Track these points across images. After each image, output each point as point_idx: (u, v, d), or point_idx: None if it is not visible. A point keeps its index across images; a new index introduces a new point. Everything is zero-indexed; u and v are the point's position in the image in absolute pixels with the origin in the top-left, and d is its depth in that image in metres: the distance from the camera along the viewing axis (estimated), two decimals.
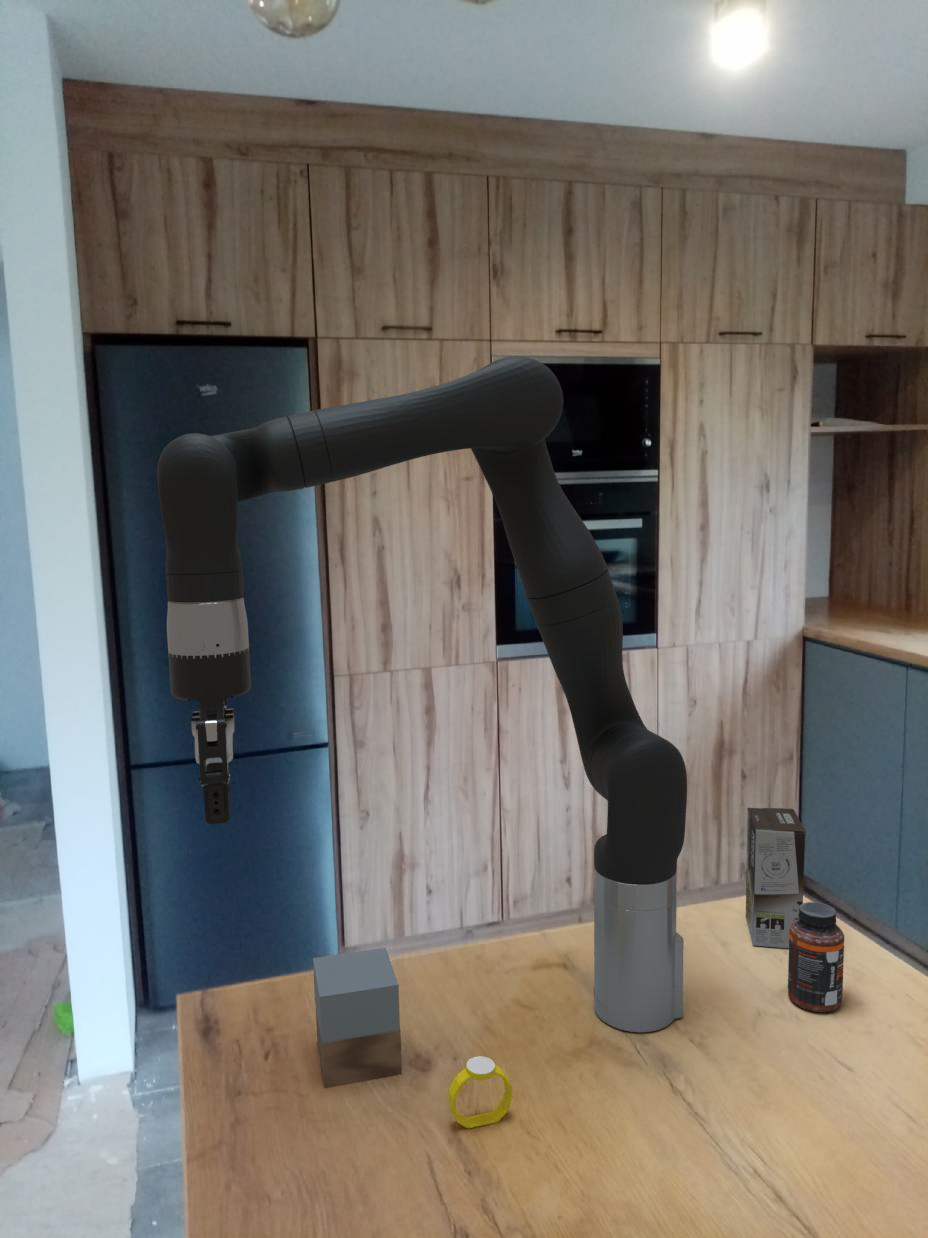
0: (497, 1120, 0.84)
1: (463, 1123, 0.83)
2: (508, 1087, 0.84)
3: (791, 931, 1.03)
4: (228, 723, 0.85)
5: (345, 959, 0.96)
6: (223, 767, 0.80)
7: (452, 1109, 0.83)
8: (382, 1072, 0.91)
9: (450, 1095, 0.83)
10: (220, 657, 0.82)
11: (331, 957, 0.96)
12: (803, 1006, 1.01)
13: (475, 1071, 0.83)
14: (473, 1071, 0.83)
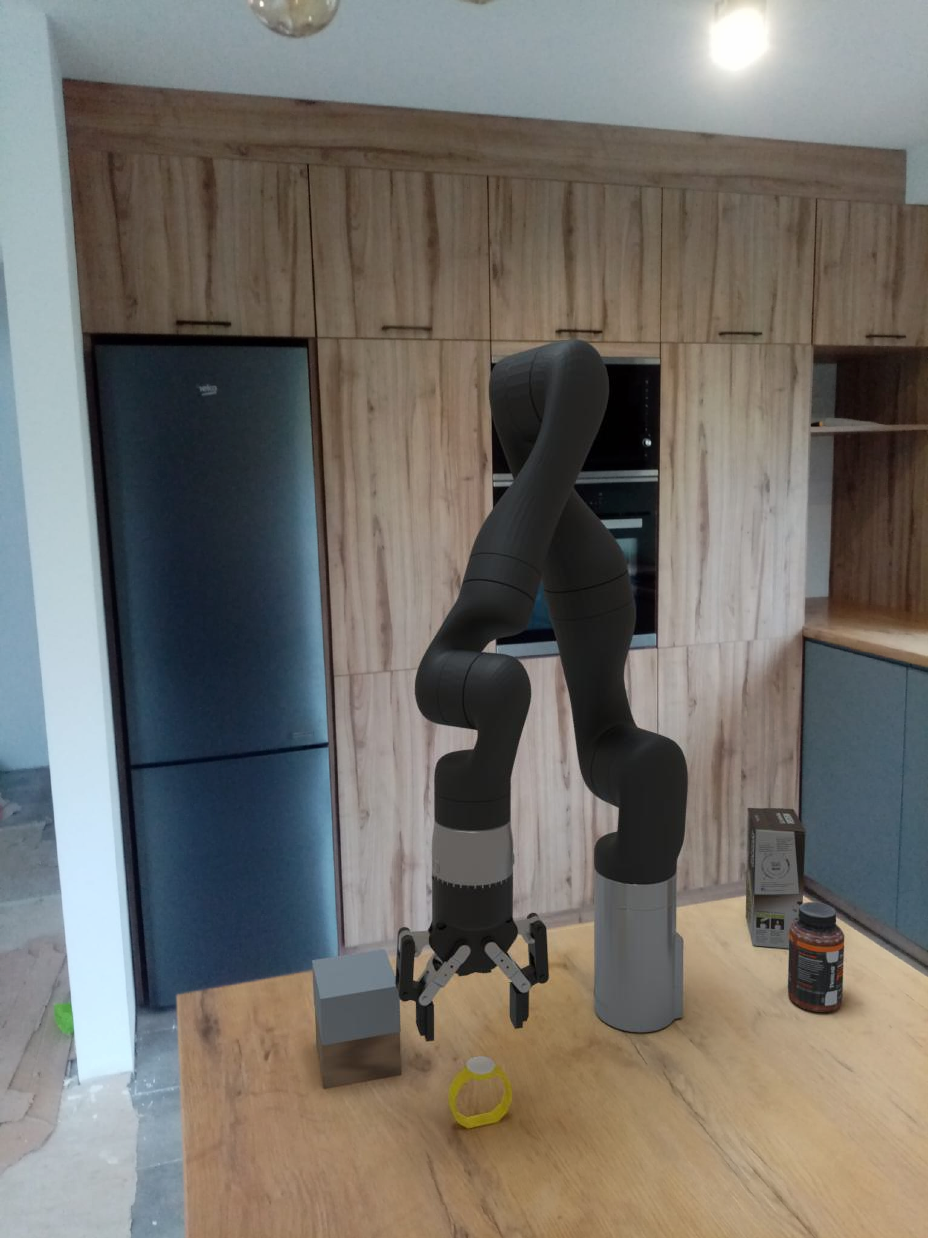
0: (497, 1120, 0.84)
1: (463, 1123, 0.83)
2: (508, 1087, 0.84)
3: (791, 931, 1.03)
4: None
5: (344, 961, 0.96)
6: None
7: (452, 1109, 0.83)
8: (381, 1073, 0.91)
9: (450, 1095, 0.83)
10: None
11: (330, 959, 0.96)
12: (803, 1006, 1.01)
13: (475, 1071, 0.83)
14: (473, 1071, 0.83)
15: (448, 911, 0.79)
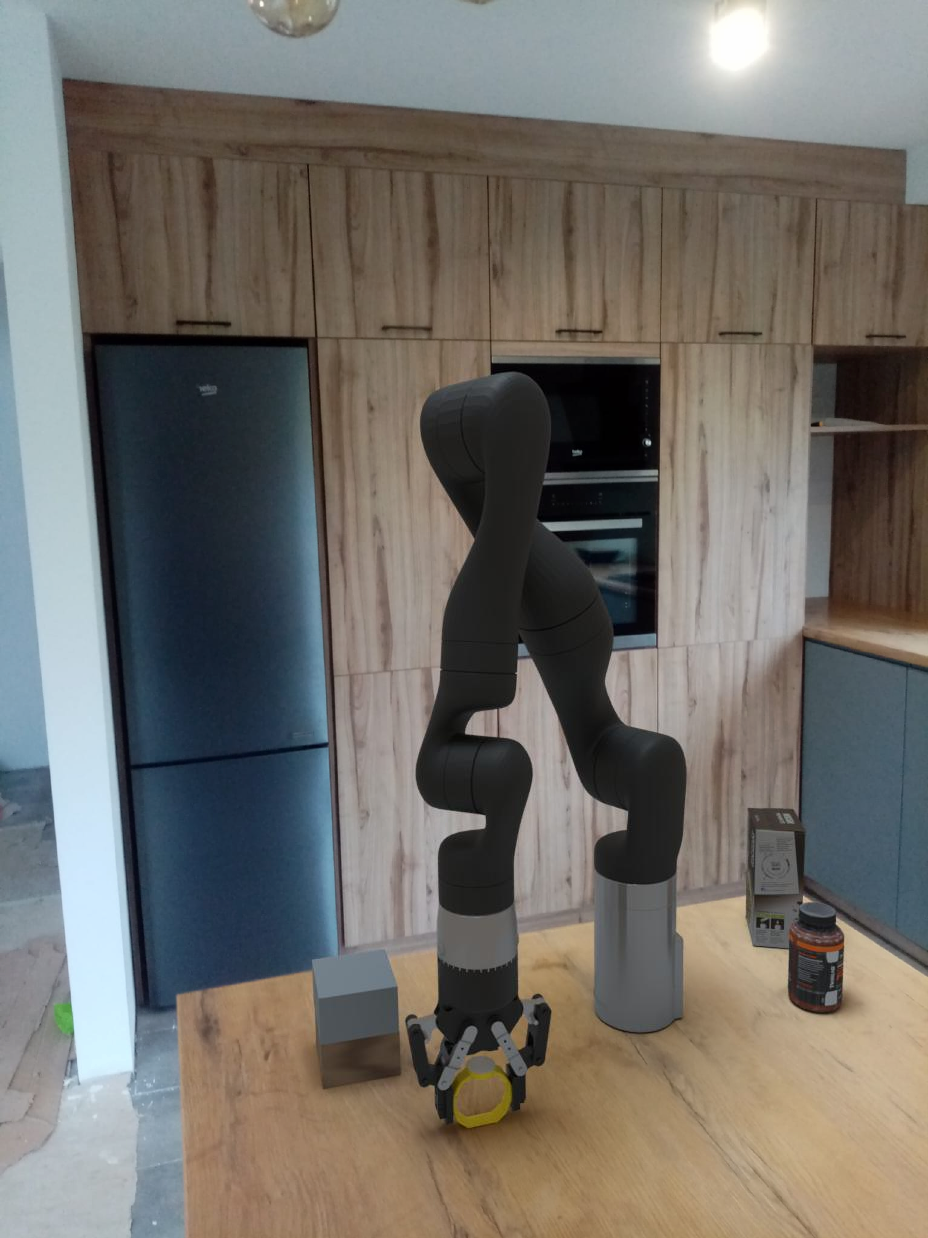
0: (497, 1120, 0.84)
1: (463, 1123, 0.83)
2: (508, 1087, 0.84)
3: (791, 931, 1.03)
4: None
5: (344, 960, 0.96)
6: None
7: None
8: (380, 1073, 0.91)
9: None
10: None
11: (330, 958, 0.96)
12: (803, 1006, 1.01)
13: (475, 1071, 0.83)
14: (473, 1070, 0.83)
15: (454, 994, 0.80)
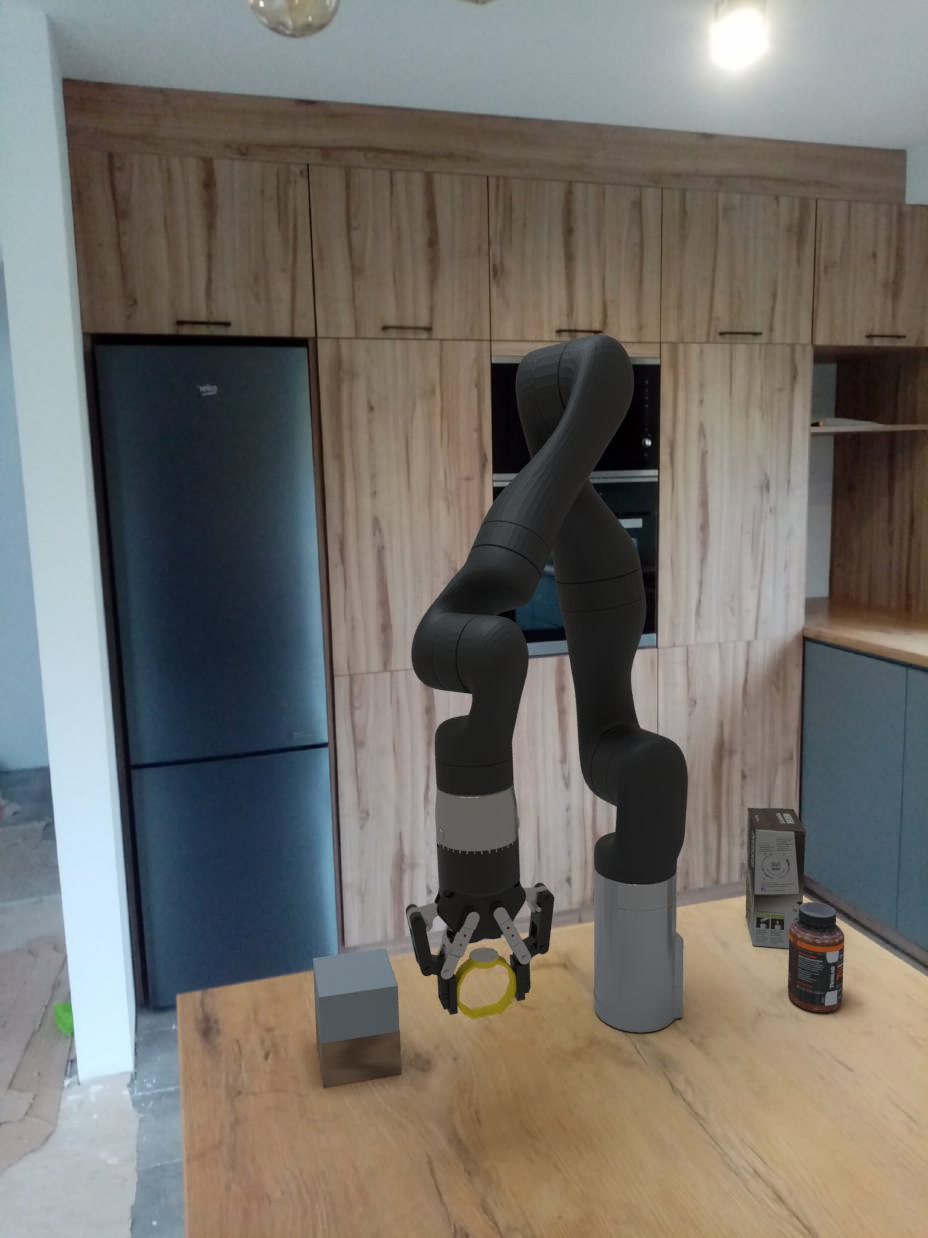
0: (502, 1010, 0.83)
1: (468, 1013, 0.82)
2: (512, 976, 0.83)
3: (791, 931, 1.03)
4: None
5: (345, 959, 0.96)
6: None
7: None
8: (381, 1072, 0.91)
9: None
10: None
11: (331, 957, 0.96)
12: (803, 1006, 1.01)
13: (479, 960, 0.81)
14: (476, 960, 0.81)
15: (455, 878, 0.78)
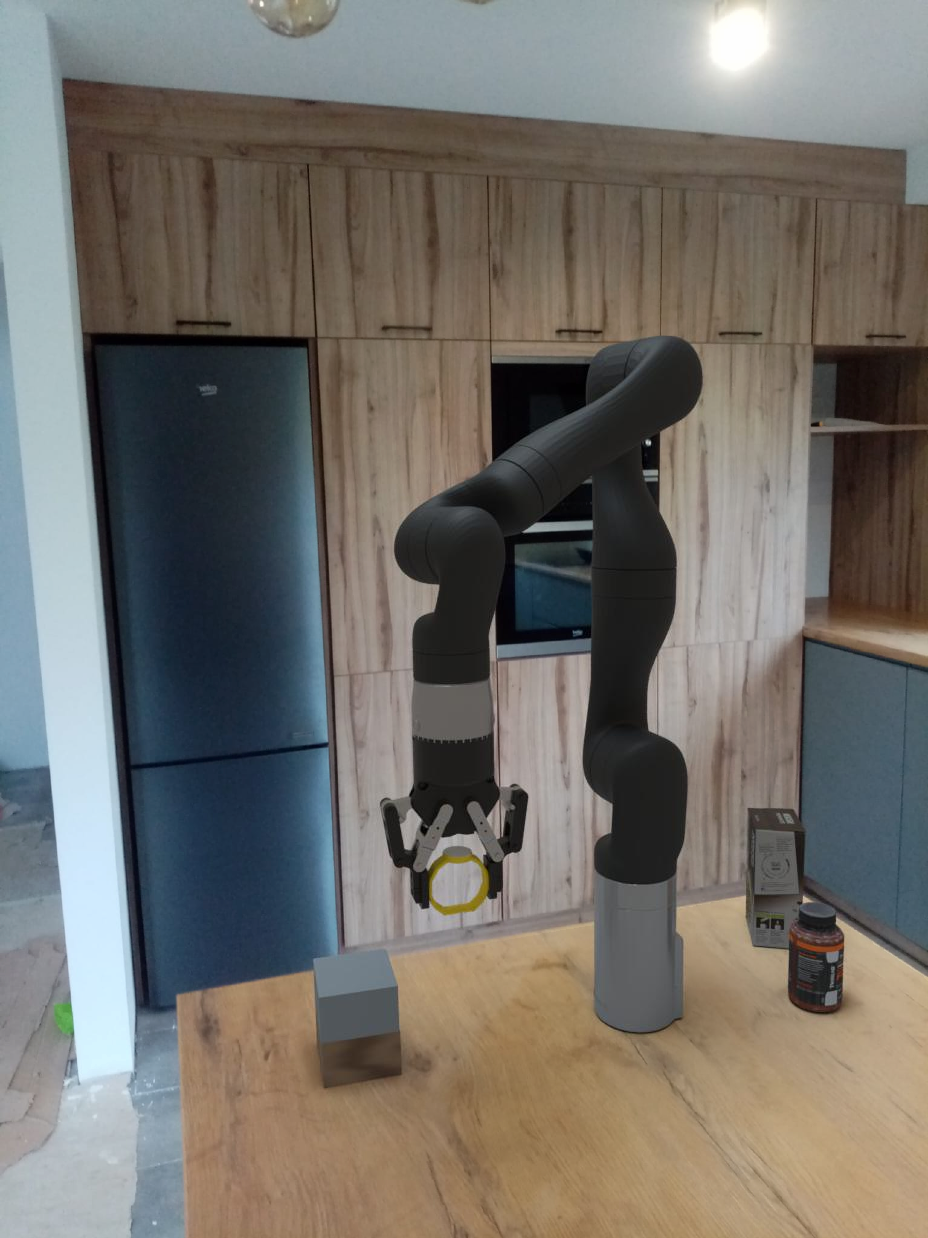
0: (474, 908, 0.83)
1: (440, 909, 0.82)
2: (485, 874, 0.83)
3: (791, 931, 1.03)
4: None
5: (345, 960, 0.96)
6: None
7: None
8: (381, 1073, 0.91)
9: None
10: None
11: (331, 958, 0.96)
12: (803, 1006, 1.01)
13: (452, 855, 0.82)
14: (449, 855, 0.82)
15: (429, 768, 0.78)
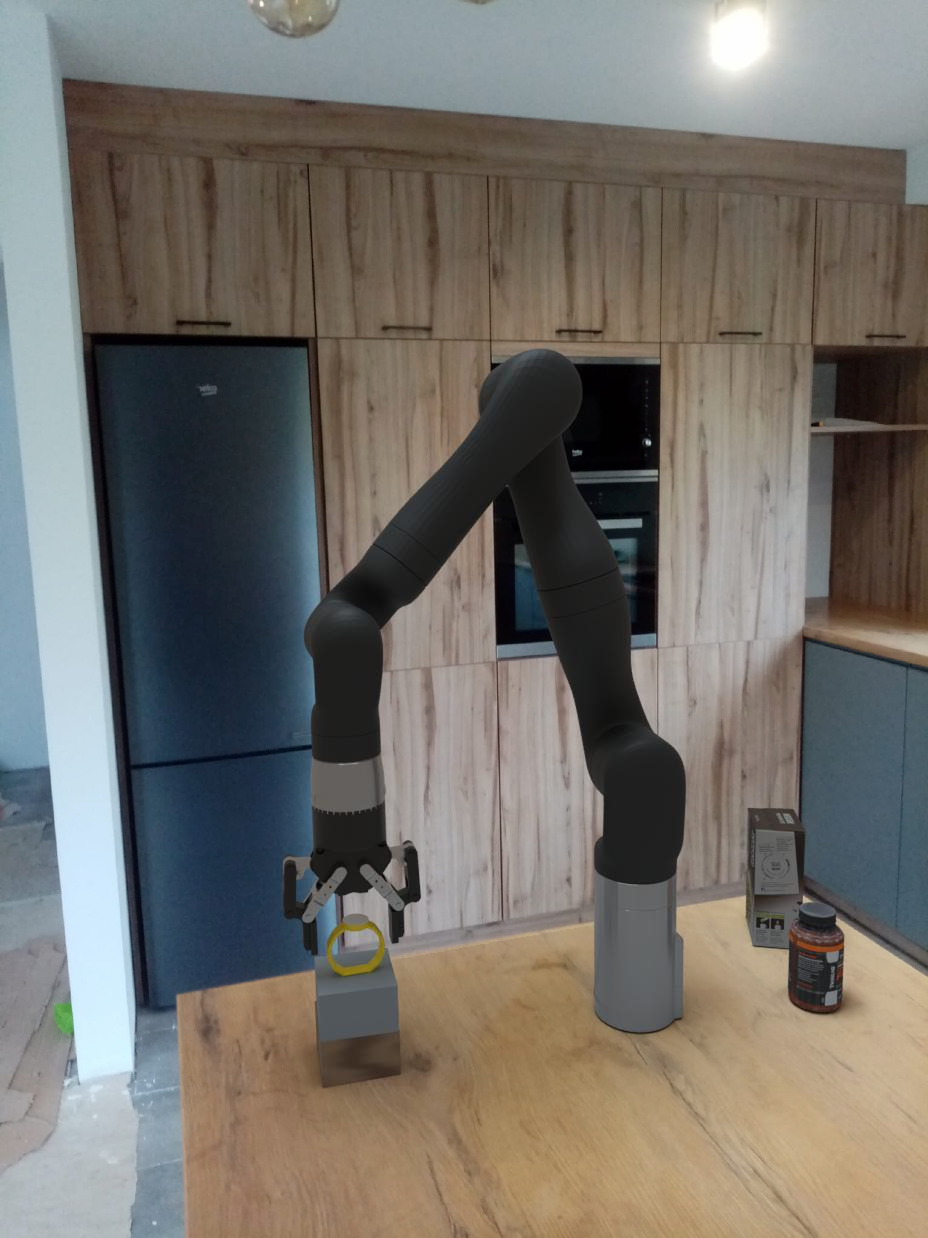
0: (371, 970, 0.93)
1: (339, 971, 0.92)
2: (381, 940, 0.93)
3: (791, 931, 1.03)
4: None
5: (346, 959, 0.96)
6: None
7: (328, 958, 0.92)
8: (380, 1072, 0.91)
9: (327, 946, 0.92)
10: None
11: (332, 956, 0.96)
12: (803, 1006, 1.01)
13: (349, 923, 0.91)
14: (347, 923, 0.92)
15: (324, 836, 0.88)
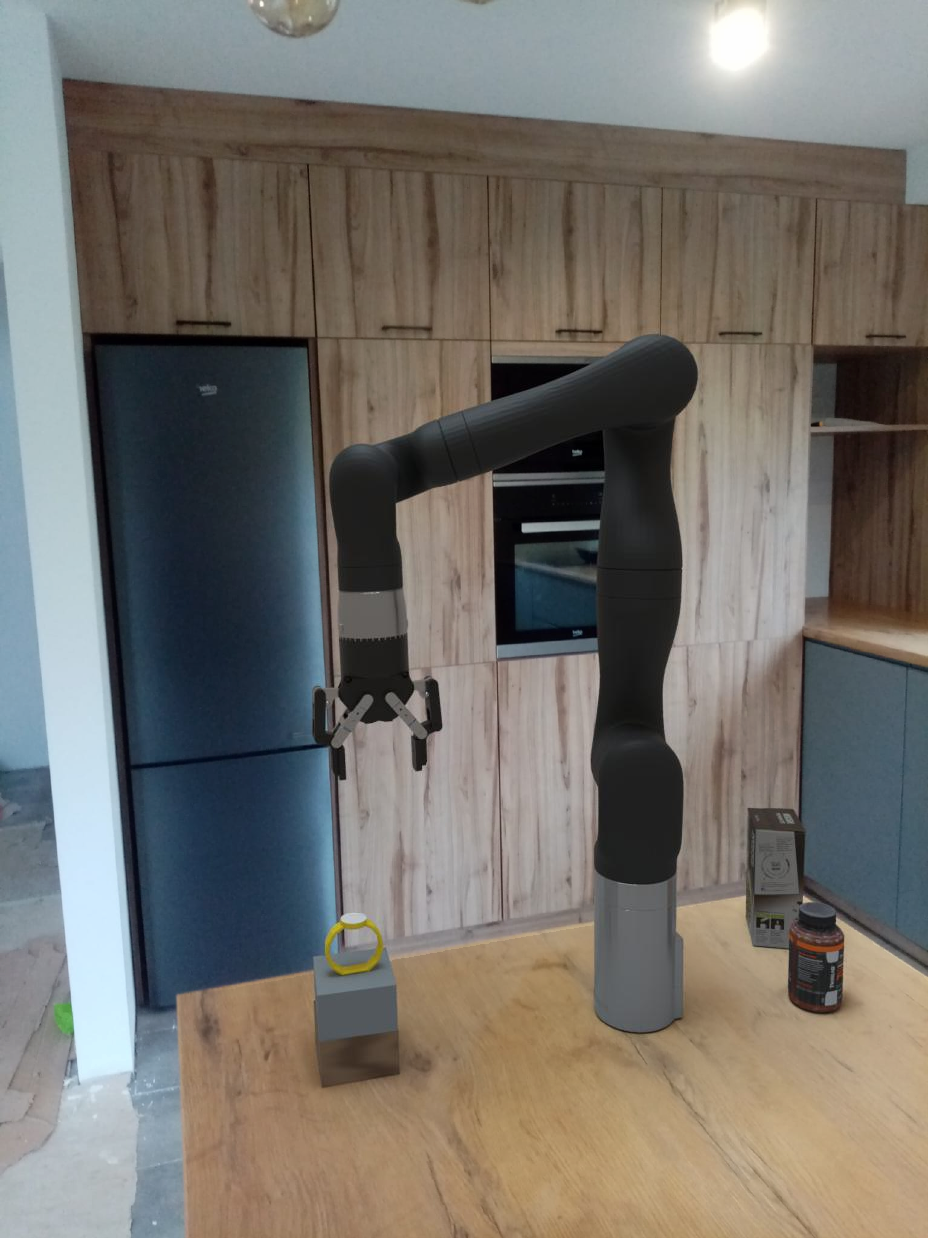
0: (369, 968, 0.93)
1: (337, 970, 0.92)
2: (379, 938, 0.93)
3: (791, 931, 1.03)
4: None
5: (345, 958, 0.96)
6: None
7: (327, 956, 0.92)
8: (379, 1071, 0.91)
9: (325, 945, 0.92)
10: None
11: (331, 956, 0.96)
12: (803, 1006, 1.01)
13: (347, 922, 0.92)
14: (345, 922, 0.92)
15: (352, 663, 0.94)
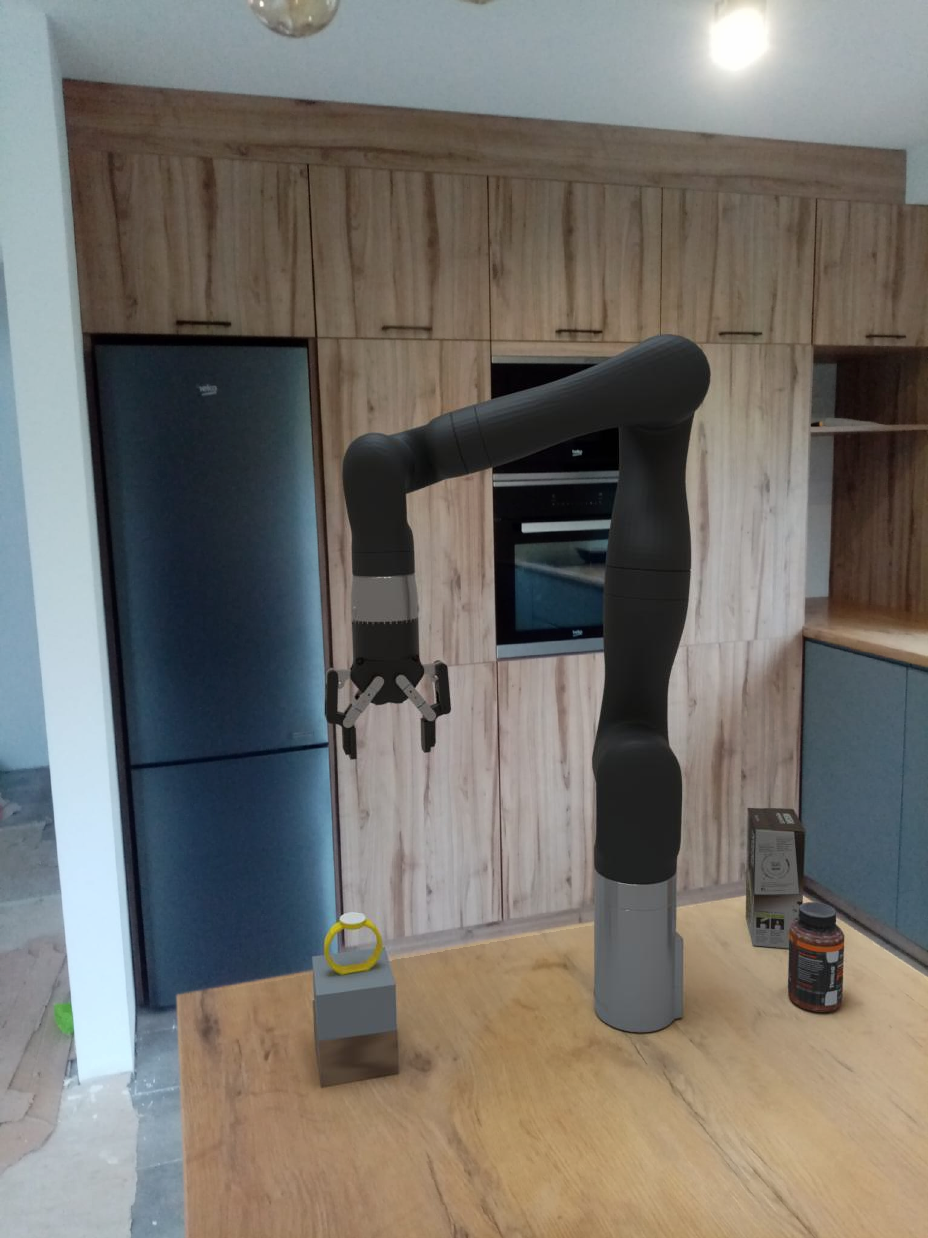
0: (368, 968, 0.93)
1: (336, 969, 0.92)
2: (378, 938, 0.93)
3: (791, 931, 1.03)
4: None
5: (344, 958, 0.96)
6: None
7: (326, 956, 0.92)
8: (378, 1071, 0.91)
9: (325, 944, 0.92)
10: None
11: (330, 956, 0.96)
12: (803, 1006, 1.01)
13: (346, 922, 0.92)
14: (344, 922, 0.92)
15: (364, 645, 0.97)
